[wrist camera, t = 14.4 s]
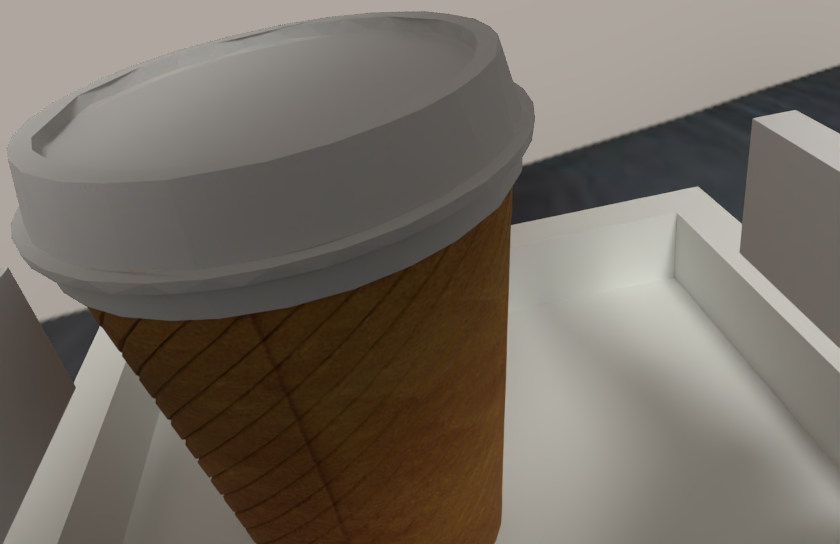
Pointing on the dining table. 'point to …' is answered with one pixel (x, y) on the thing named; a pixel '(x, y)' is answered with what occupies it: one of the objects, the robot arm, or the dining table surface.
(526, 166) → the dining table surface
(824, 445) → the tray
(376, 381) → the disposable coffee cup
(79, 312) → the dining table surface
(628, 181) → the dining table surface
